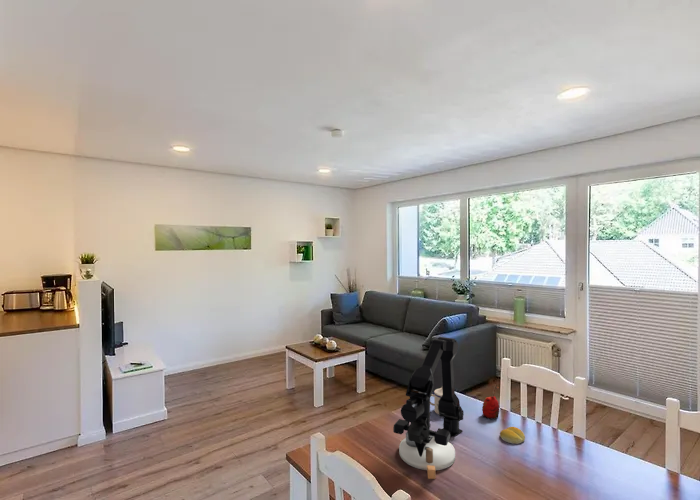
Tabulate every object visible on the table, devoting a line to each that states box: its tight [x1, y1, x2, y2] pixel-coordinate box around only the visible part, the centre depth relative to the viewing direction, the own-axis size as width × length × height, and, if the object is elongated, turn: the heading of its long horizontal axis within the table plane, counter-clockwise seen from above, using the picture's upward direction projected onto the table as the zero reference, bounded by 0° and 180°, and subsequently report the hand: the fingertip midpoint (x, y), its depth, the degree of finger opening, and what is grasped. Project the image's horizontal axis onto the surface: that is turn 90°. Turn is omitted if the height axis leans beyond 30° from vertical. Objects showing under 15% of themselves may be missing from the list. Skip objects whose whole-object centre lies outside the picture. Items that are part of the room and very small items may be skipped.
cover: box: [405, 431, 417, 448], centre depth 140 cm, size 7×7×4 cm
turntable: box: [398, 437, 456, 471], centre depth 136 cm, size 20×20×6 cm
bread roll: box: [499, 426, 526, 445], centre depth 146 cm, size 8×9×4 cm
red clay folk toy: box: [481, 384, 500, 420], centre depth 165 cm, size 8×7×15 cm
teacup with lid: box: [430, 387, 443, 415], centre depth 171 cm, size 12×9×12 cm
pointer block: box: [426, 465, 437, 480], centre depth 124 cm, size 2×2×3 cm
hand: (420, 456), depth 129 cm, fingers closed
